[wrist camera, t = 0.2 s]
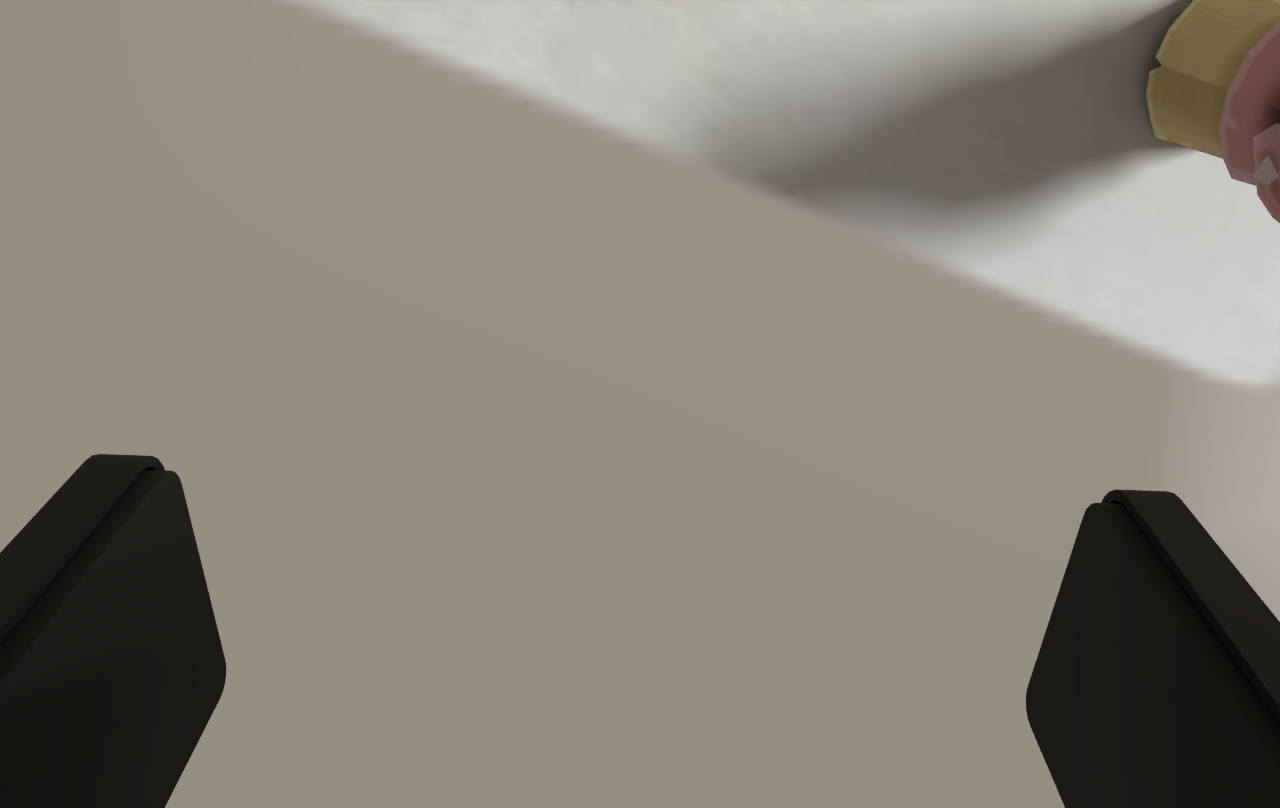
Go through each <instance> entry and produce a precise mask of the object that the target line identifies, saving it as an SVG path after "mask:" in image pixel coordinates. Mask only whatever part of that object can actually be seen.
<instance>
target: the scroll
mask: <svg viewBox="0 0 1280 808" xmlns="http://www.w3.org/2000/svg"><path fill="white" fill-rule="evenodd" d="M1156 58H1157V59H1158V61H1159V62H1160V64H1161V65H1162V66H1160V67H1158V68H1156V69H1154V70H1151V71H1150V74H1149V80H1148V86H1147V92H1146V98H1147V103H1148V109H1149V114H1150V119H1151V124H1152V128H1153V132H1154V136H1155V139H1160V140H1164V141H1168V142H1172V143H1176V144H1180V145H1183V146H1186V147H1189V148H1192V149H1195V150H1198V151H1201V152H1204V153H1207V154H1210V155H1213V156H1216V157H1219V158H1222V159H1224V162H1225V164H1226V166H1227V169H1228V171H1229V174H1230V176H1231V178H1232V179H1235V180H1239V181H1242V182H1246V183H1249V184H1252V185H1256V186H1257V195H1258V196H1259V198H1260V199H1261V201H1262V202H1263V204H1264V205H1265V207H1266V208H1267V210H1268V211H1269V213H1270V214H1271V216H1272V217H1273V218H1274V219H1275V220H1276V221H1278V222H1279V223H1280V0H1193V1H1192V2H1191V4H1190V5H1189V6H1188V7H1187V8H1186V9H1185V10H1184V12H1183V13H1182V14H1181V15H1180V16H1179V17H1178V18H1177V20H1176V21H1175V22H1174V23H1173V24H1172V25H1171V26H1170V28H1169V29H1168V32H1167V34H1166V36H1165V38H1164V40H1163V42H1162V44H1161V46H1160V49H1159V51H1158V53H1157V55H1156Z"/></svg>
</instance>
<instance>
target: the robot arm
mask: <svg viewBox="0 0 1280 808" xmlns="http://www.w3.org/2000/svg"><path fill="white" fill-rule="evenodd" d="M225 678H226V662H225V657H224V653H223V650H222V645H221V641H220V637H219V633H218V629H217V625H216V621H215V617H214V613H213V609H212V605H211V601H210V596H209V592H208V588H207V584H206V581H205V576H204V572H203V568H202V564H201V560H200V556H199V552H198V548H197V544H196V540H195V536H194V532H193V528H192V524H191V520H190V516H189V512H188V508H187V504H186V499H185V496H184V491H183V488H182V484H181V481H180V478H179V477H178V475H177V474H176V473H175V472H173V471H165V469H164V467H163V465H162V463H161V462H160V461H159V459H158V458H155V457H153V456H138V455H137V456H136V455H107V454H99V455H93V456H91V457H90V458H88V459H87V460H86V461H85V462H84V463H83V464H82V465H81V466H80V467H79V468H78V469H77V470H76V471H75V473H74V474H73V475H72V476H71V477H70V478H69V479H68V480H67V481H66V482H65V483H64V484H63V486H62V487H61V488H60V489H59V490H58V491H57V492H56V493H55V494H54V495H53V496H52V498H51V499H50V500H49V501H48V502H47V503H46V504H45V505H44V506H43V507H42V508H41V509H40V510H39V512H38V513H37V514H36V515H35V516H34V517H33V518H32V519H31V520H30V521H29V522H28V523H27V525H26V526H25V527H24V528H23V529H22V530H21V531H20V532H19V533H18V534H17V536H15V538H14V539H13V540H12V541H11V542H10V543H9V544H8V545H7V546H6V547H5V548H4V550H3V551H2V552H1V553H0V808H165V806H166V804H167V802H168V800H169V798H170V796H171V794H172V792H173V790H174V788H175V786H176V784H177V782H178V780H179V778H180V776H181V774H182V772H183V770H184V768H185V767H186V764H187V763H188V761H189V759H190V757H191V755H192V752H193V751H194V749H195V747H196V745H197V743H198V741H199V739H200V737H201V735H202V733H203V731H204V729H205V727H206V725H207V723H208V721H209V719H210V717H211V715H212V713H213V711H214V709H215V707H216V705H217V704H218V702H219V700H220V697H221V695H222V692H223V688H224V685H225ZM1026 710H1027V716H1028V720H1029V723H1030V726H1031V728H1032V731H1033V733H1034V736H1035V738H1036V740H1037V743H1038V745H1039V747H1040V750H1041V752H1042V754H1043V757H1044V759H1045V761H1046V764H1047V766H1048V768H1049V771H1050V773H1051V776H1052V778H1053V780H1054V782H1055V785H1056V787H1057V790H1058V792H1059V794H1060V797H1061V799H1062V801H1063V803H1064V806H1065V808H1280V622H1279V621H1278V620H1277V618H1276V617H1275V616H1274V615H1273V613H1272V612H1271V611H1270V610H1269V608H1268V607H1267V606H1266V605H1265V603H1264V602H1263V601H1262V600H1261V598H1260V597H1259V596H1258V595H1257V594H1256V592H1255V591H1254V590H1253V588H1252V587H1251V586H1250V585H1249V583H1248V582H1247V581H1246V580H1245V578H1244V577H1243V576H1242V575H1241V574H1240V572H1239V571H1238V570H1237V569H1236V567H1235V566H1234V565H1233V564H1232V562H1231V561H1230V560H1229V559H1228V557H1227V556H1226V555H1225V554H1224V552H1223V551H1222V550H1221V549H1220V547H1219V546H1218V545H1217V544H1216V543H1215V541H1214V540H1213V539H1212V537H1211V536H1210V535H1209V534H1208V532H1207V531H1206V530H1205V529H1204V528H1203V526H1202V525H1201V524H1200V523H1199V521H1198V520H1197V519H1196V518H1195V516H1194V515H1193V514H1192V513H1191V511H1190V510H1189V509H1188V508H1187V506H1186V505H1185V504H1184V503H1183V501H1182V500H1181V499H1180V498H1179V497H1177V496H1176V495H1175V494H1174V493H1171V492H1167V491H1140V490H1138V491H1137V490H1113V491H1110V492H1108V494H1107V495H1106V496H1105V497H1104V498H1103V500H1102V502H1101V503H1094V504H1091V505H1090V506H1089V507H1088V508H1087V509H1086V511H1085V514H1084V516H1083V519H1082V522H1081V525H1080V528H1079V531H1078V534H1077V537H1076V540H1075V544H1074V547H1073V550H1072V553H1071V556H1070V559H1069V562H1068V565H1067V568H1066V571H1065V574H1064V577H1063V580H1062V583H1061V586H1060V590H1059V593H1058V596H1057V599H1056V602H1055V605H1054V608H1053V611H1052V614H1051V617H1050V620H1049V623H1048V626H1047V630H1046V633H1045V636H1044V639H1043V642H1042V645H1041V648H1040V651H1039V654H1038V657H1037V660H1036V663H1035V666H1034V670H1033V672H1032V675H1031V679H1030V682H1029V685H1028V688H1027V693H1026Z"/></svg>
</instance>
